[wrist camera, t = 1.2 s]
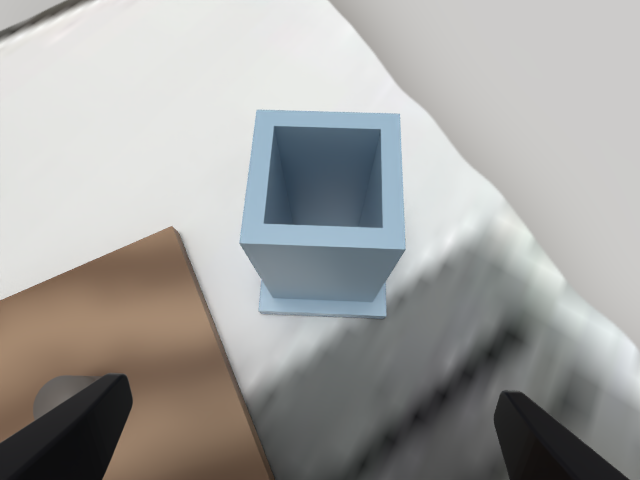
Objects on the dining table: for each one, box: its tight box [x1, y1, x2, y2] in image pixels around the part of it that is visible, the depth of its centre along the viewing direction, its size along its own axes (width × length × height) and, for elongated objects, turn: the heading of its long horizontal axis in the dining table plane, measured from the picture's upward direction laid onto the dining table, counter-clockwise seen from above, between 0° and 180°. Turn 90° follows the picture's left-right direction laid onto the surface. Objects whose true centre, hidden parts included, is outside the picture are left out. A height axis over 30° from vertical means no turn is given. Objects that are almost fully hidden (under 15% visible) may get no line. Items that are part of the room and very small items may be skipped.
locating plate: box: [0, 226, 275, 480], centre depth 19 cm, size 16×14×4 cm
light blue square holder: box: [240, 110, 405, 319], centre depth 19 cm, size 8×8×10 cm
